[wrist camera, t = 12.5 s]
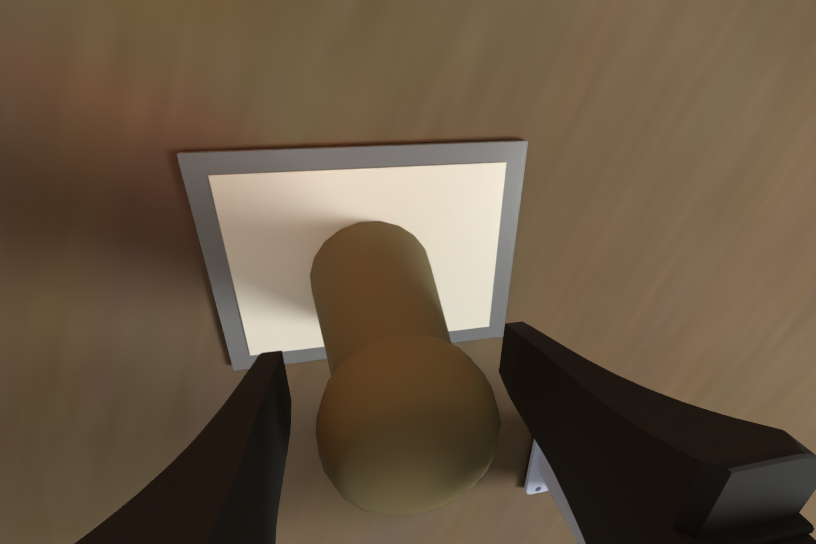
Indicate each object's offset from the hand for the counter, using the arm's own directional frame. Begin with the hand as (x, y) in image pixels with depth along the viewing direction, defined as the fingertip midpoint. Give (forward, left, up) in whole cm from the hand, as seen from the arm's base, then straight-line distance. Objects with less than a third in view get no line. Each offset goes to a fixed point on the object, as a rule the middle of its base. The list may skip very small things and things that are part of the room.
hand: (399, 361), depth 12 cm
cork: (0, +1, -8) cm, 8 cm away
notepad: (0, 0, -8) cm, 8 cm away
